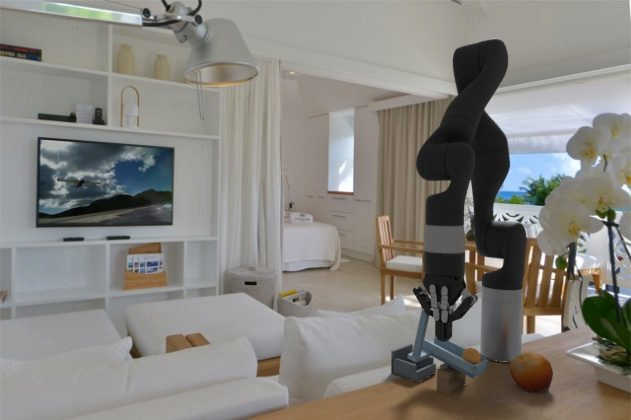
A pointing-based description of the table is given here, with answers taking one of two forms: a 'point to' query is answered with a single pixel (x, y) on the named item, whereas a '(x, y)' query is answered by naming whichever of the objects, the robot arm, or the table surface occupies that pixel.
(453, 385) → the fulcrum
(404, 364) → the tray
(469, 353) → the ball
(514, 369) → the fruit
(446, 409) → the table surface
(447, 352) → the lever
